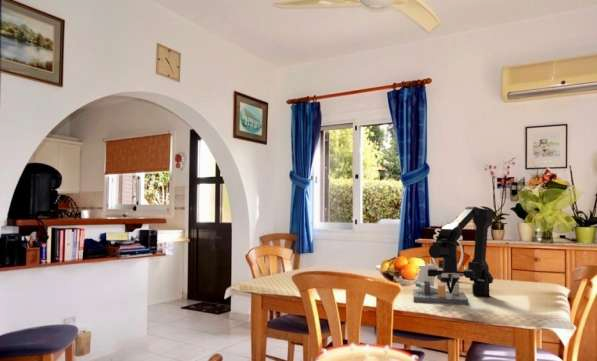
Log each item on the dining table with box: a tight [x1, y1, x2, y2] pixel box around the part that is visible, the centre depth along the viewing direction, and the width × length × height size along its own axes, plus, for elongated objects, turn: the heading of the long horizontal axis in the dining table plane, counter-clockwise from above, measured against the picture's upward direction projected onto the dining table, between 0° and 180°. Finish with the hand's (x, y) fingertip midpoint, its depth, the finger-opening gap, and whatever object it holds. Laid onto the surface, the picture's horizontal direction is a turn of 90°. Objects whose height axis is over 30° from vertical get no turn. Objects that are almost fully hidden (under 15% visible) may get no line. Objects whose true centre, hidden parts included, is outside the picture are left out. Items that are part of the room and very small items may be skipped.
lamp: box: [431, 221, 464, 283], centre depth 236 cm, size 17×9×32 cm, turn 85°
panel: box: [412, 281, 469, 306], centre depth 190 cm, size 22×16×6 cm
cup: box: [417, 262, 436, 290], centre depth 210 cm, size 9×9×12 cm
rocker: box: [415, 281, 438, 292], centre depth 196 cm, size 10×4×1 cm, turn 75°
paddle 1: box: [437, 284, 447, 297], centre depth 186 cm, size 3×3×5 cm
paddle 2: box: [452, 281, 460, 294], centre depth 193 cm, size 3×3×5 cm
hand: (450, 293), depth 185 cm, fingers closed
